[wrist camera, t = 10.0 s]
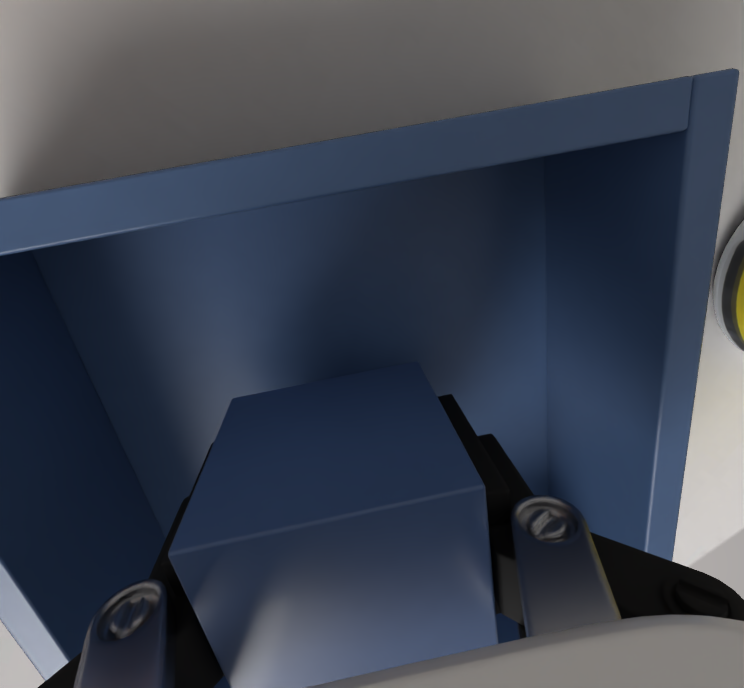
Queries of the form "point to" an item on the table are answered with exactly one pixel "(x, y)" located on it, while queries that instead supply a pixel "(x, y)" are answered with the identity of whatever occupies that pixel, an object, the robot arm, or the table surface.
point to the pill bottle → (731, 289)
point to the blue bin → (357, 320)
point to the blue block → (337, 533)
